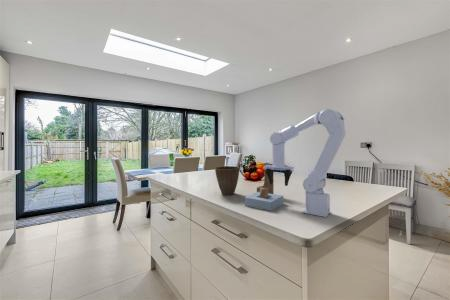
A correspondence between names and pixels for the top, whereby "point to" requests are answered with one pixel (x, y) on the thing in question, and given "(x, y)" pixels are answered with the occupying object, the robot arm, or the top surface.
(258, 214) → the top surface
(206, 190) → the top surface
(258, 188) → the wooden block
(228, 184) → the plant pot
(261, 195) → the peg
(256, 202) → the socket
